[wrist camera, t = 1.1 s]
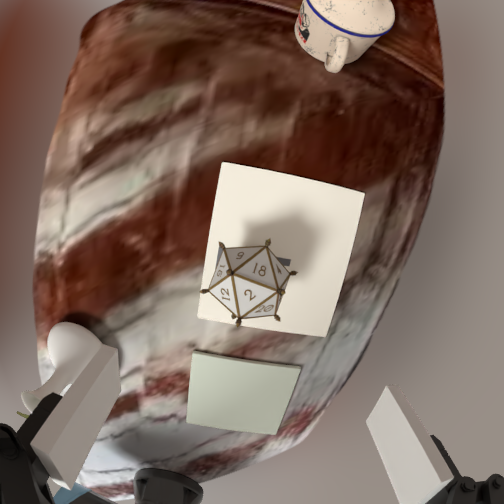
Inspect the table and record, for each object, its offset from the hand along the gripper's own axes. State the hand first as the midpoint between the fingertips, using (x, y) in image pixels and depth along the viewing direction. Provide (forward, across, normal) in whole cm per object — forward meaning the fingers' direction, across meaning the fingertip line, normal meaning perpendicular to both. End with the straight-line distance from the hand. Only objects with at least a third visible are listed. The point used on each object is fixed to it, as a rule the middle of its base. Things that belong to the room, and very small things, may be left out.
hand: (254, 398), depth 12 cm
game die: (+21, 0, 0) cm, 21 cm away
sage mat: (+20, -2, +19) cm, 28 cm away
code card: (+21, -3, -2) cm, 21 cm away
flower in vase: (+21, +22, +18) cm, 35 cm away
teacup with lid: (+21, -4, -28) cm, 35 cm away
